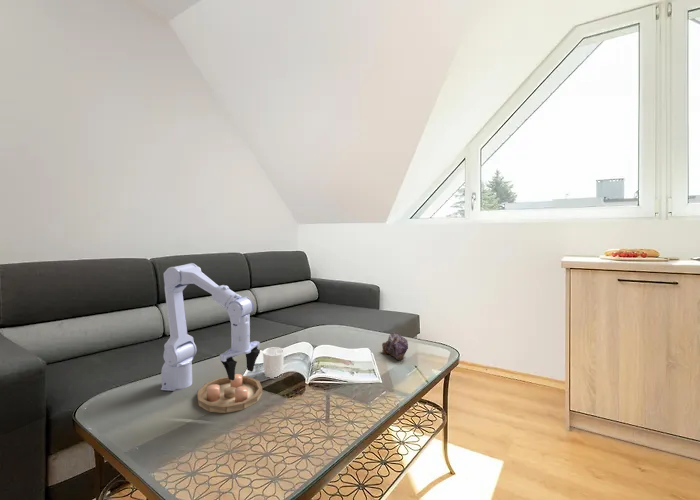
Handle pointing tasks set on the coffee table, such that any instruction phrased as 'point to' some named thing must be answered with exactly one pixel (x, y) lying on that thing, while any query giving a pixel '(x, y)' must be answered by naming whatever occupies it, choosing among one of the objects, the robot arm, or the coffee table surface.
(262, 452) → the coffee table surface
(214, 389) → the bead
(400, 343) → the rock
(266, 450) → the coffee table surface
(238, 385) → the bead
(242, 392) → the bead
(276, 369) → the white cup
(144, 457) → the coffee table surface
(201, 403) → the ring tray
